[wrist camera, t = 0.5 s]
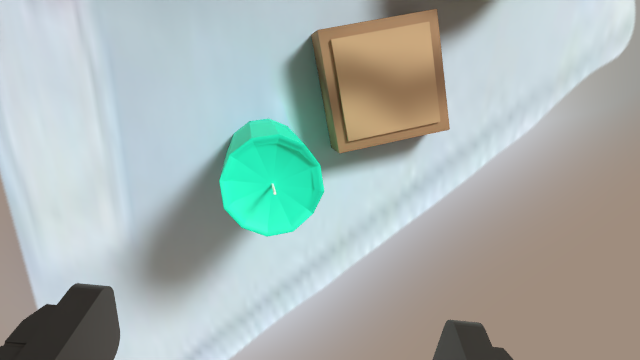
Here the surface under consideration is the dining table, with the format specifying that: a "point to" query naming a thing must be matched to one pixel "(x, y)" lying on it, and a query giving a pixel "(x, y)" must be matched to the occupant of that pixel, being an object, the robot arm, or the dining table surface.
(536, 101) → the dining table surface
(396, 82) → the stand
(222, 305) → the dining table surface
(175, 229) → the dining table surface
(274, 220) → the candle
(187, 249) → the dining table surface
